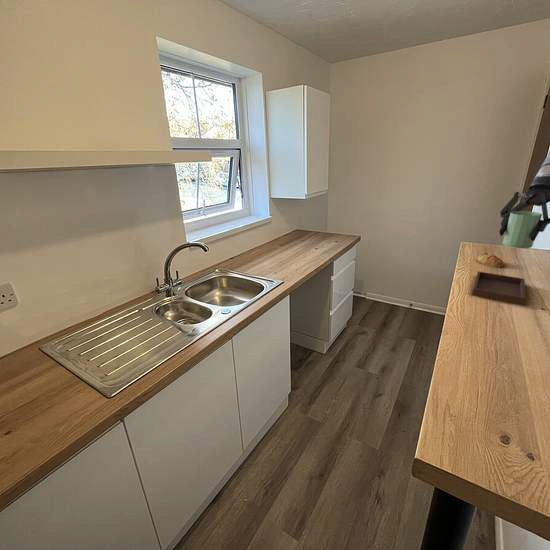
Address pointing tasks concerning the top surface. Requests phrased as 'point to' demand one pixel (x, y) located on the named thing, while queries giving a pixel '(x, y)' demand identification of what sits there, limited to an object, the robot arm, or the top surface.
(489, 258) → the pastry
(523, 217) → the cup
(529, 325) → the top surface
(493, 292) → the tray
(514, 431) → the top surface
